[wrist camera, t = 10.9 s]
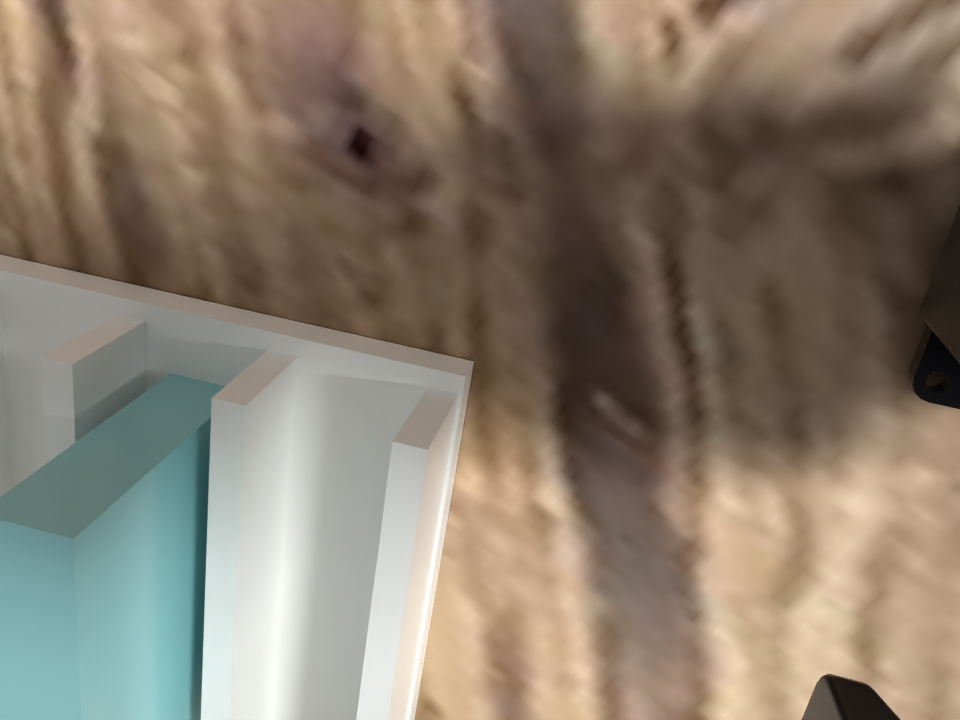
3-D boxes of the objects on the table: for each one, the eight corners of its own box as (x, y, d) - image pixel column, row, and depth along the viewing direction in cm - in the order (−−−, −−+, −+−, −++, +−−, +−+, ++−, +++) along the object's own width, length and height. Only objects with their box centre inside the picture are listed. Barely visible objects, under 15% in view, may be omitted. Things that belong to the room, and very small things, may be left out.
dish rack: (474, 361, 22) (435, 431, 18) (407, 758, 28) (368, 871, 24) (-7, 252, 24) (-129, 296, 20) (22, 648, 29) (-70, 738, 26)
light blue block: (241, 389, 23) (73, 539, 16) (228, 681, 27) (89, 892, 20) (170, 373, 23) (-23, 513, 16) (168, 664, 27) (12, 867, 20)
